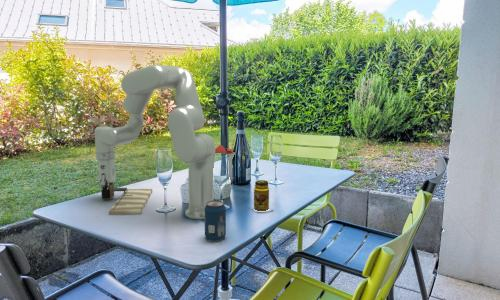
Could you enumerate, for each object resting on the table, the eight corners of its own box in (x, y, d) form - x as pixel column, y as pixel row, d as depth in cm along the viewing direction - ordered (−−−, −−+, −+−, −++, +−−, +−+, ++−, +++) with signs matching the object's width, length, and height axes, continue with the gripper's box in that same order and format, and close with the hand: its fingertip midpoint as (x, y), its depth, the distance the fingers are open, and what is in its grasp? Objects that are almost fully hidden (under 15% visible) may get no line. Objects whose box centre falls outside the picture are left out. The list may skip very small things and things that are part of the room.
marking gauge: (125, 198, 159) (125, 185, 158) (101, 199, 158) (100, 185, 157) (128, 195, 164) (127, 182, 163) (105, 195, 163) (104, 182, 162)
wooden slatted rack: (140, 213, 143) (140, 210, 143) (109, 214, 142) (108, 210, 142) (152, 191, 173) (152, 188, 172) (126, 192, 171) (125, 189, 171)
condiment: (257, 213, 145) (257, 184, 143) (248, 207, 153) (248, 179, 151) (273, 211, 148) (274, 182, 146) (263, 205, 156) (264, 177, 154)
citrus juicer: (198, 180, 193) (198, 143, 189) (230, 178, 199) (230, 141, 195) (205, 188, 179) (205, 148, 175) (239, 185, 184) (239, 146, 181)
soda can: (209, 232, 126) (209, 199, 124) (228, 235, 124) (228, 201, 122) (201, 240, 120) (201, 205, 117) (221, 243, 118) (221, 207, 116)
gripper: (109, 159, 149) (112, 202, 153) (119, 151, 166) (121, 190, 169) (90, 159, 149) (93, 202, 152) (102, 152, 165) (104, 191, 168)
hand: (108, 195), depth 161 cm, fingers closed on marking gauge, 5 cm apart
